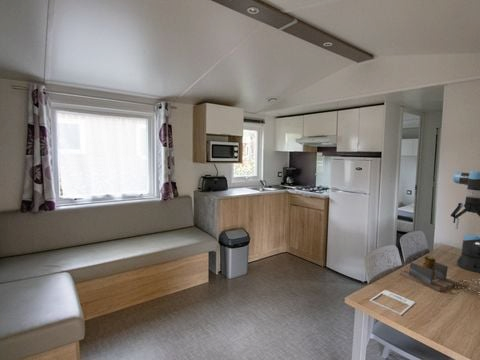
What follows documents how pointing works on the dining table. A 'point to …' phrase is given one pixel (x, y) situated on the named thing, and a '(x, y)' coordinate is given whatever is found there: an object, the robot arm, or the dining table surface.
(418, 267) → the tray
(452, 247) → the dining table surface
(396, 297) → the photo frame
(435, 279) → the condiment
